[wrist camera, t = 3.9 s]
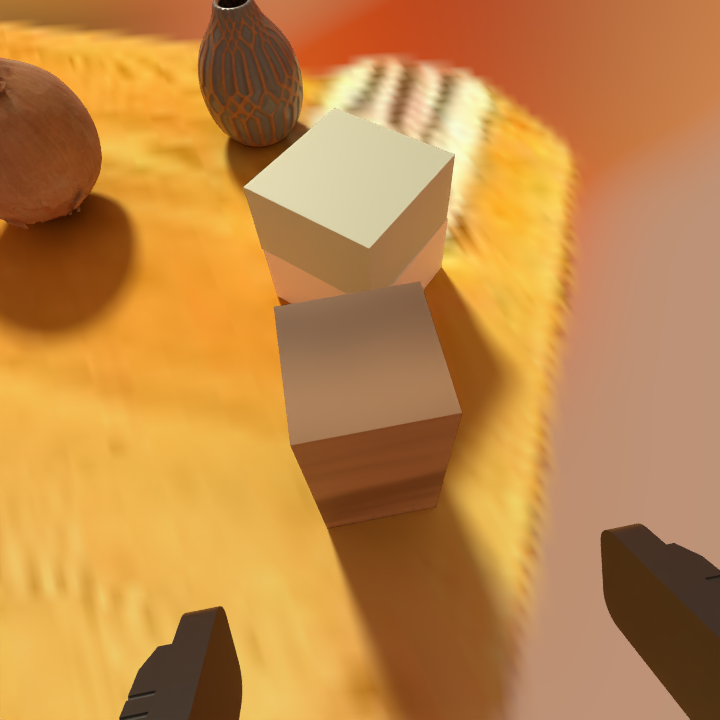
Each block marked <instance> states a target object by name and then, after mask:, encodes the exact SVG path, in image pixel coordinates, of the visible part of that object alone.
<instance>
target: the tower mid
mask: <svg viewBox="0 0 720 720" xmlns="http://www.w3.org/2000/svg"><path fill="white" fill-rule="evenodd" d="M454 157H455V154H452V153H450V152H447V151H444V150H442V149H439V148H437V147H434V146H432V145H429V144H426V143H424V142H421V141H419V140H416V139H414V138H411V137H408V136H406V135H403V134H401V133H398V132H396V131H393V130H390V129H388V128H385V127H383V126H380V125H378V124H375V123H372V122H370V121H367V120H365V119H362V118H360V117H357V116H354V115H352V114H349V113H347V112H344V111H342V110H339V109H336V108H334V109H333V110H332V111H331V112H329V113H328V114H327V115H326V116H325V117H324V118H323V119H321V120H320V121H319V122H318V123H317V124H316V125H314V126H313V127H312V128H311V129H310V130H309V131H308V132H306V133H305V134H304V135H303V136H302V137H301V138H299V139H298V140H297V141H296V142H295V143H294V144H293V145H291V146H290V147H289V148H288V149H287V150H286V151H284V152H283V153H282V154H281V155H280V156H279V157H278V158H276V159H275V160H274V161H273V162H272V163H271V164H269V165H268V166H267V167H266V168H265V169H264V170H263V171H261V172H260V173H259V174H258V175H257V176H256V177H254V178H253V179H252V180H251V181H250V182H249V183H248V184H246V185H245V186H244V190H245V194H246V197H247V200H248V204H249V207H250V210H251V214H252V217H253V220H254V224H255V227H256V230H257V234H258V237H259V240H260V244H261V247H262V249H264V250H266V251H268V252H269V253H271V254H273V255H275V256H277V257H279V258H281V259H282V260H284V261H286V262H288V263H290V264H292V265H294V266H296V267H297V268H299V269H301V270H303V271H305V272H307V273H309V274H311V275H312V276H314V277H316V278H318V279H320V280H322V281H324V282H326V283H327V284H329V285H331V286H333V287H335V288H337V289H339V290H340V291H342V292H344V293H346V294H350V293H356V292H362V291H367V290H373V289H379V288H384V287H390V285H391V284H392V283H393V282H394V281H395V279H396V278H397V277H398V276H399V275H400V274H401V272H402V271H403V270H404V269H405V268H406V266H407V265H408V264H409V263H410V262H411V261H412V259H413V258H414V257H415V256H416V255H417V253H418V252H419V251H420V250H421V249H422V248H423V246H424V245H425V244H426V243H427V242H428V240H429V239H430V238H431V237H432V236H433V234H434V233H435V232H436V231H437V230H438V229H439V227H440V226H441V225H442V224H443V223H444V221H445V220H446V219H447V212H448V204H449V196H450V188H451V181H452V173H453V165H454Z"/></svg>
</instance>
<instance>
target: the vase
mask: <svg viewBox="0 0 720 720" xmlns="http://www.w3.org/2000/svg"><path fill="white" fill-rule="evenodd" d="M198 77H199V84H200V89H201V92H202V96H203V98H204V101H205V104H206V106H207V108H208V111H209V113H210V114H211V116H212V118H213V119H214V121H215V122H216V123H217V125H218V126H219V127H220V128H221V129H222V131H223V132H224V133H225V134H227V135H228V136H229V137H231V138H232V139H234V140H236V141H238V142H240V143H242V144H245V145H248V146H252V147H265V146H269V145H273V144H275V143H277V142H279V141H281V140H282V139H283V138H285V137H286V136H287V135H288V133H289V132H290V131H291V130H292V129H293V127H294V126H295V124H296V122H297V120H298V118H299V115H300V112H301V107H302V100H303V85H302V77H301V71H300V67H299V63H298V61H297V58H296V55H295V53H294V51H293V48H292V47H291V45H290V43H289V41H288V39H287V38H286V36H285V35H284V34H283V33H282V31H281V30H280V29H279V28H278V27H277V26H276V25H275V24H274V23H273V22H272V21H271V20H270V19H269V18H268V17H267V16H265V15H264V14H263V13H262V12H261V10H260V9H259V8H258V6H257V5H256V3H255V1H254V0H214V1H213V4H212V14H211V19H210V23H209V25H208V27H207V30H206V32H205V35H204V37H203V40H202V43H201V46H200V50H199V56H198Z"/></svg>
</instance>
